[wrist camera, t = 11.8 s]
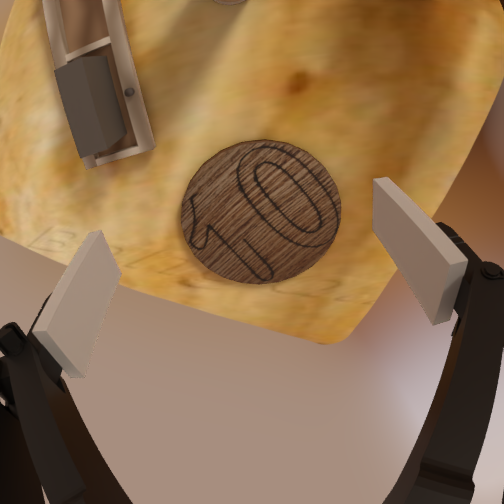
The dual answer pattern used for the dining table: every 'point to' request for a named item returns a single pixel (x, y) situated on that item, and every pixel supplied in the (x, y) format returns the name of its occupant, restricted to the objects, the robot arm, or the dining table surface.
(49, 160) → the dining table surface
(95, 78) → the picture frame
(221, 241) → the trivet
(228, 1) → the coffee cup
